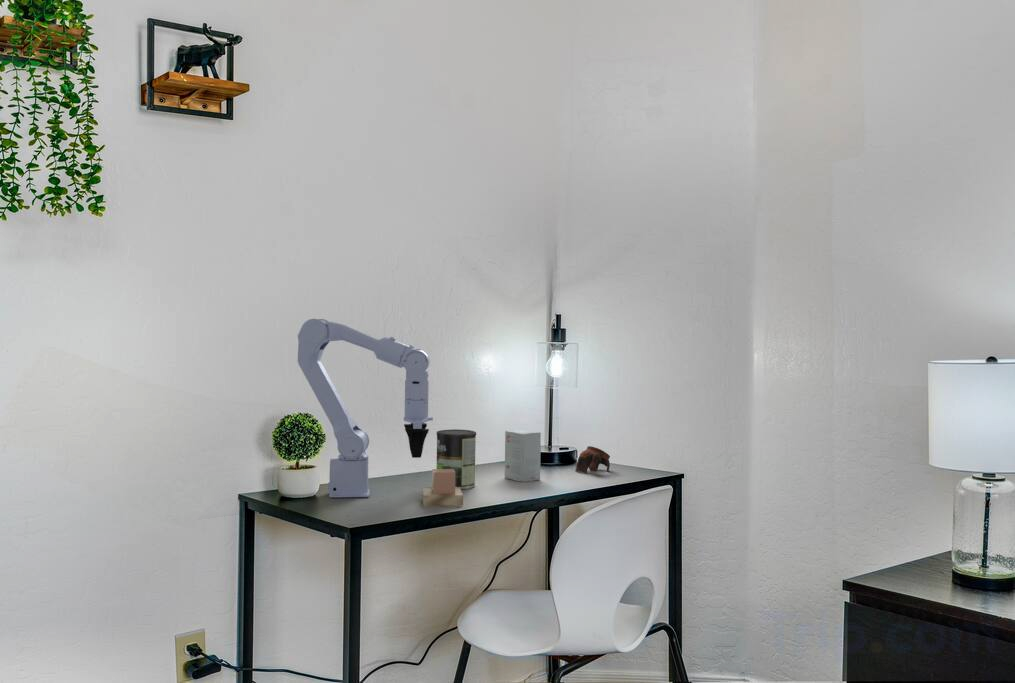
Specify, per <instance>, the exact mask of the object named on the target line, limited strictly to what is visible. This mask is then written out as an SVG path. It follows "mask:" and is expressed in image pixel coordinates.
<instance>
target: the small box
mask: <svg viewBox="0 0 1015 683" xmlns="http://www.w3.org/2000/svg"><path fill="white" fill-rule="evenodd" d="M504 434H505V435H504V437H505V438H504V445H505V446H504V478H505V479H509V480H514V481H518V482H521V483H522V482H523V483H527V482H534V481H539V480H541V443H542V442H541V439H542V438H541V434H542V433H541V431H535V430H534V431H532V430H525V429H514V430H505V432H504Z"/></svg>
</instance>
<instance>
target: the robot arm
mask: <svg viewBox="0 0 1015 683" xmlns="http://www.w3.org/2000/svg"><path fill="white" fill-rule="evenodd" d="M396 339H397V338H396V337H393V336H389V337H388V336H385V337H382V338H380V339H377V338H375V337H373V336H372V335H369V334H366V333H364V332H362V331H359V330H358V329H356V328H355V329H354V328H353V327H351V326H348V325H347V324H344V323H343V324H342V323H338V322H336V321H335V322H334V321H329V320H327V319H326V318H325V319H324V318H318V319H317V318H310V319H308V320H306V321H304V323H303V324H302V326H301V328H300V330H299V332H298V334H297V340H298V342H297V343H298V346H297V364H298V366H299V368H300V370H301V371H302V373H303V375H304V377H305V379H306V380H307V381H306V382H308V384H309V386H310V387H311V390H312V391H313V393H314V395H315V397H316V399H317V401H318V402H319V404H320V406H321V408H322V409H323V412H324V413H325V415H326V417H327V419H328V421H329V423H330V424H331V426H332V429H333V435H334V437H335V439H336V442H337V443H336V444H337V451H338V453H339V454H338V456H337V458H330V460H329V481H328V491H329V493H328V495H329V496H328V497H329V498H369V497H370V496H371V495H370V494H371V493H370V492H371V490H370V489H369V455H368V454H367V452H366V450H367V449H368V447H369V446H370V445H369V444H370V438H369V434H367V432H366V431H365V430H363V429H361V428H360V427H359V425H358V423H357V421H355V419H354V418H353V417H352V416H351V414H350V413H349V411H348V409H347V407H346V405H345V403H344V401H343V400H342V398H341V396H340V395H339V393H338V391H337V389H336V387H335V385H334V383H333V381H332V379H331V378H330V376H329V374H328V371H326V369H325V367H324V364H323V363H322V361H321V358H322V356H323V353H324V351H325V348H327V346H328V345H329V343H330V342H338V341H344V342H347V343H349V344H352V345H355V346H358V347H361V348H363V349H365V350H369V351H372V352H373V353H374V355H375V357H376V360H379V361H382V362H384V363H387V364H390V365H392V366H395V367H397V368H400V369H402V368H404V369H405V380H404V417H403V422H407V423H404V424H403V426H404V430H405V433H406V435H407V438H408V445H409V451H410V453H411V454H410V455H411V458H412V459H414V458H417V459H418V458H422V456H423V455H422V454H423V450H424V446H425V440H426V437H427V435H428V434H429V431H430V429H429V428H427V426H428V423H426V422H429V421H433V420H434V419H433V418H434V417H433V416H429V389H430V388H429V386H430V385H429V372H428V371H429V370H428V368H429V366H430V356H429V355H428V354H427V352H425V351H424V350H422V349H420V348H416V349H414V348H415V345H412V344H410V345H407V344H404V343H402V342H400V341H397V340H396Z"/></svg>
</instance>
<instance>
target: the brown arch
mask: <svg viewBox="0 0 1015 683" xmlns="http://www.w3.org/2000/svg"><path fill="white" fill-rule="evenodd" d="M610 458H611V456H610V455H609V454H608V453H607V452H605V451H604V450H602V449H600V448H598V447H595V446H593V445H592V446H590V445H589V446H587V448H586V449H585V450H582V452H580V453H579V456H578V459H577V462H576V465H575V472H577V471H578V472H581V473H583V474H587V473H588V470H589V471H591V472H598V469H599V465H602V466H603V465H604V466H605V467H606V470H607V471H606V472H609V471H610V466H611V465H610V464H611V463H610Z"/></svg>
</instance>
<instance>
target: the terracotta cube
mask: <svg viewBox="0 0 1015 683" xmlns="http://www.w3.org/2000/svg"><path fill="white" fill-rule="evenodd" d="M431 479H432V480H431V481H432V482H431V485H432V486H431V488H432V491H433V494H455V471H454V469H437V468H433V469H432V478H431Z"/></svg>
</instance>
